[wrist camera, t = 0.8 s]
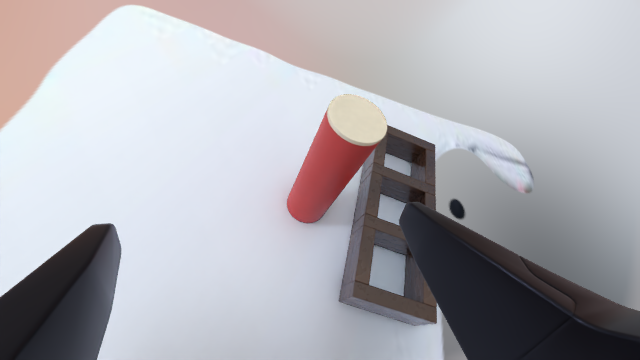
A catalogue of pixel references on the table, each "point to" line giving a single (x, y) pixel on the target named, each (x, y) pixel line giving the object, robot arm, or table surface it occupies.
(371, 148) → the red cylinder
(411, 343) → the table surface
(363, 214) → the brown wooden rack
